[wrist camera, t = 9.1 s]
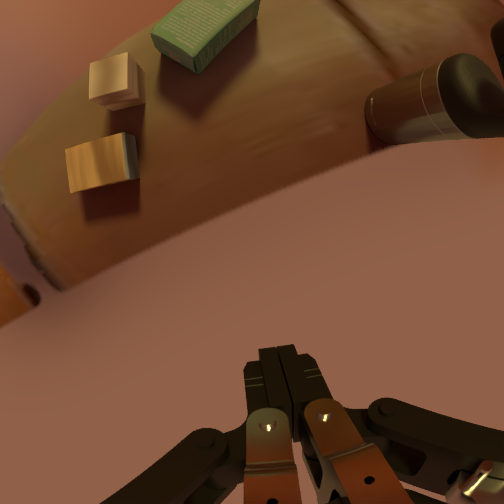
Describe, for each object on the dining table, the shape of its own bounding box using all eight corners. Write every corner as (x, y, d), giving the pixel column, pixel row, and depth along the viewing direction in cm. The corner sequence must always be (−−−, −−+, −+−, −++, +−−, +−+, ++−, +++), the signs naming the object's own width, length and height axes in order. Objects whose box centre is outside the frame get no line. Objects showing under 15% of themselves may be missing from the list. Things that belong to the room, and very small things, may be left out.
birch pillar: (144, 72, 33) (127, 52, 25) (145, 103, 34) (127, 88, 26) (112, 80, 32) (90, 63, 25) (112, 111, 34) (89, 99, 26)
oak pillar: (124, 132, 31) (65, 149, 30) (129, 178, 32) (70, 193, 32) (135, 136, 35) (80, 151, 35) (140, 178, 37) (85, 190, 36)
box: (158, 54, 32) (146, 32, 25) (218, -4, 30) (219, -31, 23) (197, 78, 34) (192, 58, 27) (257, 18, 32) (264, -8, 24)
